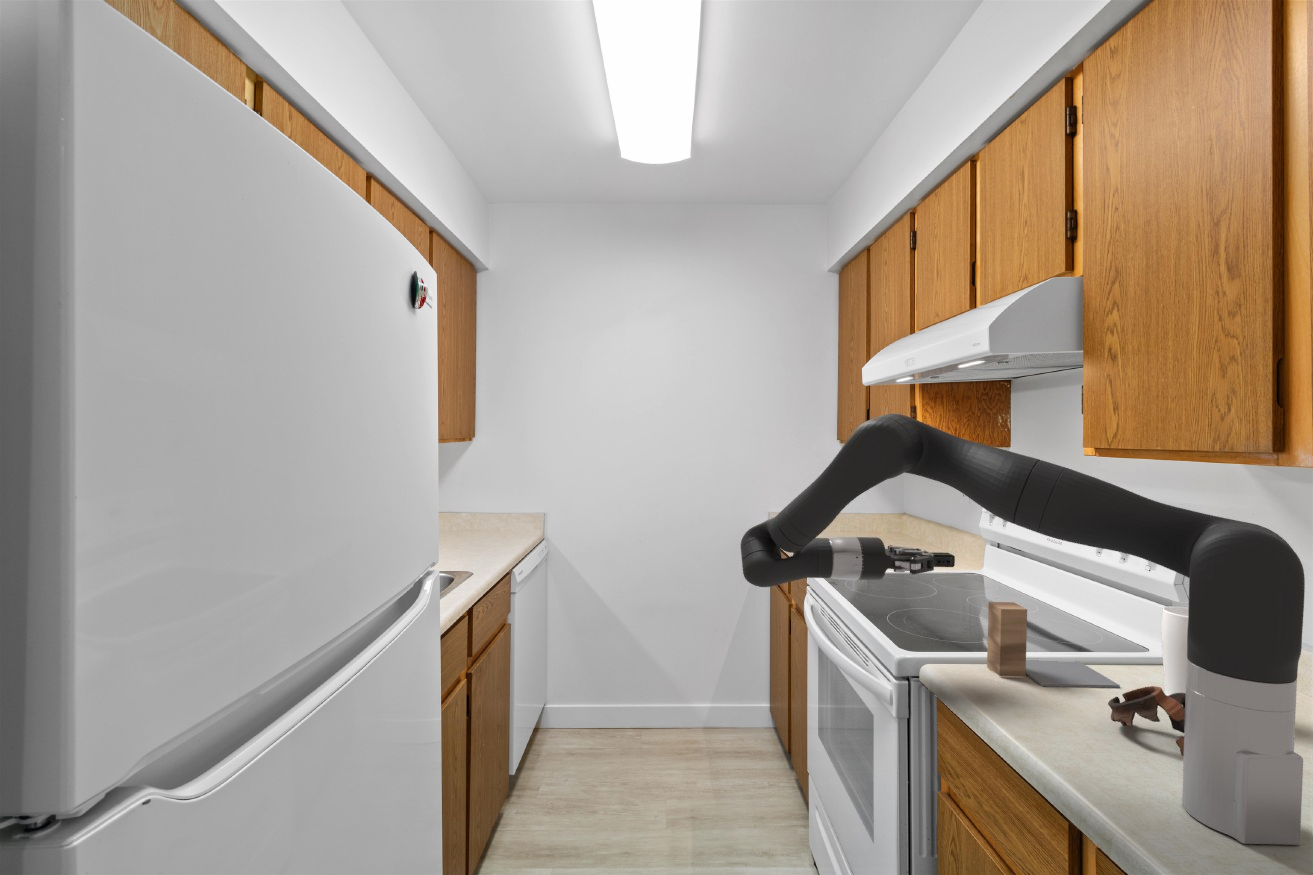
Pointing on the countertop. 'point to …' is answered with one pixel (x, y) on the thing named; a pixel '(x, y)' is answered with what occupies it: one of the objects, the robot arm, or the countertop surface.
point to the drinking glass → (1174, 648)
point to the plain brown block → (1007, 639)
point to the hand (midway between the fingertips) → (951, 559)
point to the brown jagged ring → (1150, 708)
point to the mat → (1066, 674)
